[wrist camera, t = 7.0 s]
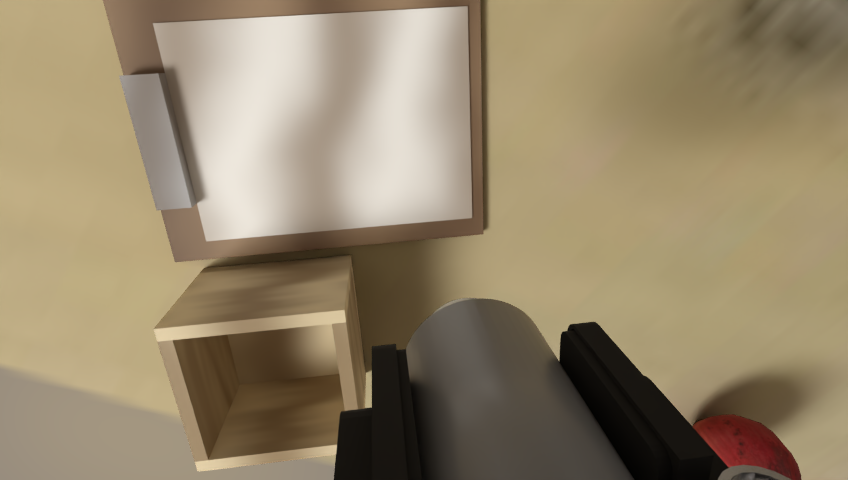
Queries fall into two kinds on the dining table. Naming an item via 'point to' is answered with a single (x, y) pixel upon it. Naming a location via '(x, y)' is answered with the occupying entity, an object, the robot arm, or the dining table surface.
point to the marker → (499, 401)
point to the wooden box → (265, 360)
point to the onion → (747, 444)
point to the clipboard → (305, 120)
